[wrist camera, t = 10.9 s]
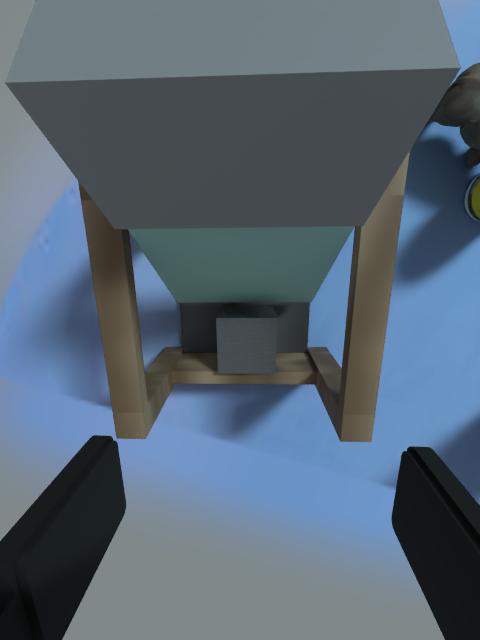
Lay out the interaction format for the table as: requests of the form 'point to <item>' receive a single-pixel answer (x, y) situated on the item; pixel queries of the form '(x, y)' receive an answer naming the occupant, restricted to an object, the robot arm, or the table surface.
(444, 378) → the table surface
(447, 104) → the rhino figurine
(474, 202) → the supplement bottle
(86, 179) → the grey and green slab
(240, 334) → the block
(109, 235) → the frame
